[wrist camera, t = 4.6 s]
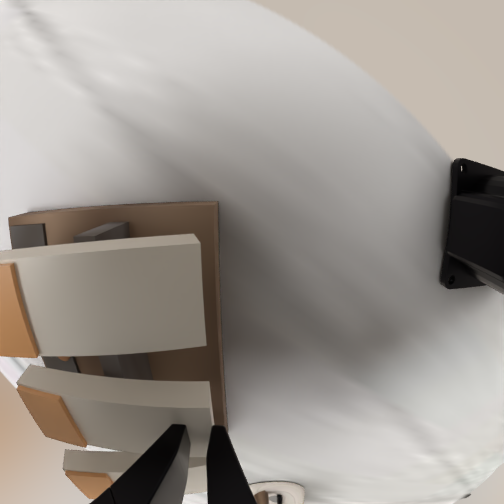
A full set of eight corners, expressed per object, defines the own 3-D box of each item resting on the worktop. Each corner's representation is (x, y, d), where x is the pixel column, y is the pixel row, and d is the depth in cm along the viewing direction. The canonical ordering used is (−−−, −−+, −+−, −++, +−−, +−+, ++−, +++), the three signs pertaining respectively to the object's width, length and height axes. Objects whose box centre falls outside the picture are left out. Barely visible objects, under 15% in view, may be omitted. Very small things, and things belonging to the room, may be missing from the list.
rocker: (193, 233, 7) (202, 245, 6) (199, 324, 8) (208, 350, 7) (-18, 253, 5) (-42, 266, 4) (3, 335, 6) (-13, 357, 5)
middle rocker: (209, 381, 8) (209, 413, 7) (215, 432, 9) (217, 461, 7) (30, 364, 7) (13, 386, 6) (55, 415, 8) (44, 437, 6)
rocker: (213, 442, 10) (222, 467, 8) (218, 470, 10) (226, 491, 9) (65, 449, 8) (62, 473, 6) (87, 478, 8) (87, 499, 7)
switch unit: (218, 201, 11) (202, 214, 7) (228, 431, 14) (225, 485, 10) (27, 212, 10) (-29, 228, 6) (82, 409, 14) (59, 449, 10)
